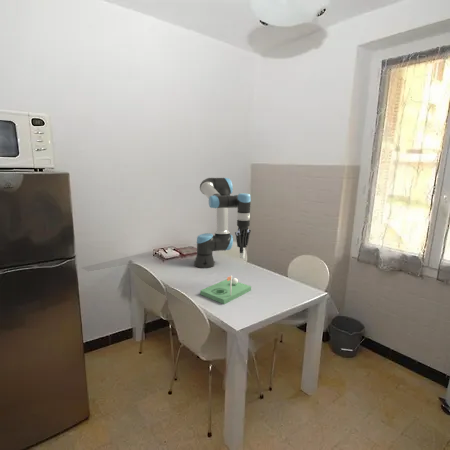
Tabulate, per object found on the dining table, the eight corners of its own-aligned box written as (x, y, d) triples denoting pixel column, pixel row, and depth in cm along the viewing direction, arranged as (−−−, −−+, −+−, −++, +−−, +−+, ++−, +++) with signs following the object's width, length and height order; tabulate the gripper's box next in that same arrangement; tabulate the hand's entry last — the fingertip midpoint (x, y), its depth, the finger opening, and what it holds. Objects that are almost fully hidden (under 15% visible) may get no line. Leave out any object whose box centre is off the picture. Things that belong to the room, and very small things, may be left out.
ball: (230, 284, 178) (230, 278, 178) (234, 282, 181) (234, 276, 181) (235, 286, 176) (235, 279, 175) (239, 284, 179) (239, 278, 178)
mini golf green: (227, 282, 188) (228, 261, 185) (251, 290, 177) (252, 267, 174) (200, 294, 169) (200, 271, 167) (224, 304, 158) (224, 279, 155)
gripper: (241, 221, 169) (240, 261, 173) (254, 219, 179) (253, 256, 183) (231, 220, 173) (230, 258, 178) (244, 217, 183) (243, 254, 188)
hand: (242, 257), depth 180 cm, fingers closed
